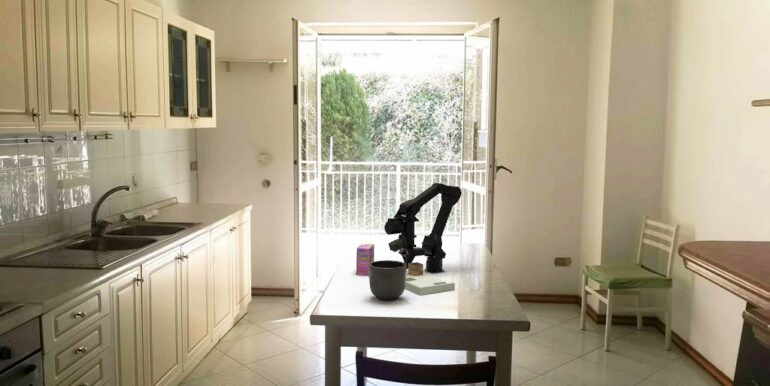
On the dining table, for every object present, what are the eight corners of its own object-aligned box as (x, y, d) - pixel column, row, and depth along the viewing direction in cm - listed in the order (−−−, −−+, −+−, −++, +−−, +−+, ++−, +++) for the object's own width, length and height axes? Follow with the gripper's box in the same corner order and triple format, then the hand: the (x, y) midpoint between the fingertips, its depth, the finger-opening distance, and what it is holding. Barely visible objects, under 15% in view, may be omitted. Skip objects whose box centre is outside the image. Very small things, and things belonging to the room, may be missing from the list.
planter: (379, 305, 217) (379, 270, 216) (362, 296, 229) (362, 262, 228) (413, 301, 223) (413, 266, 222) (395, 291, 236) (395, 258, 234)
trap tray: (419, 276, 261) (419, 269, 260) (454, 290, 239) (454, 283, 239) (386, 280, 253) (386, 274, 252) (420, 295, 231) (420, 288, 231)
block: (417, 272, 259) (417, 262, 258) (423, 274, 255) (423, 264, 255) (408, 273, 257) (408, 263, 256) (413, 276, 253) (414, 265, 252)
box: (369, 275, 261) (369, 248, 260) (356, 275, 262) (356, 247, 261) (374, 270, 271) (374, 244, 270) (361, 269, 273) (361, 243, 271)
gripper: (380, 230, 264) (380, 266, 265) (403, 237, 248) (402, 275, 249) (402, 228, 269) (402, 263, 271) (426, 235, 253) (425, 272, 255)
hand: (407, 268), depth 261 cm, fingers closed
